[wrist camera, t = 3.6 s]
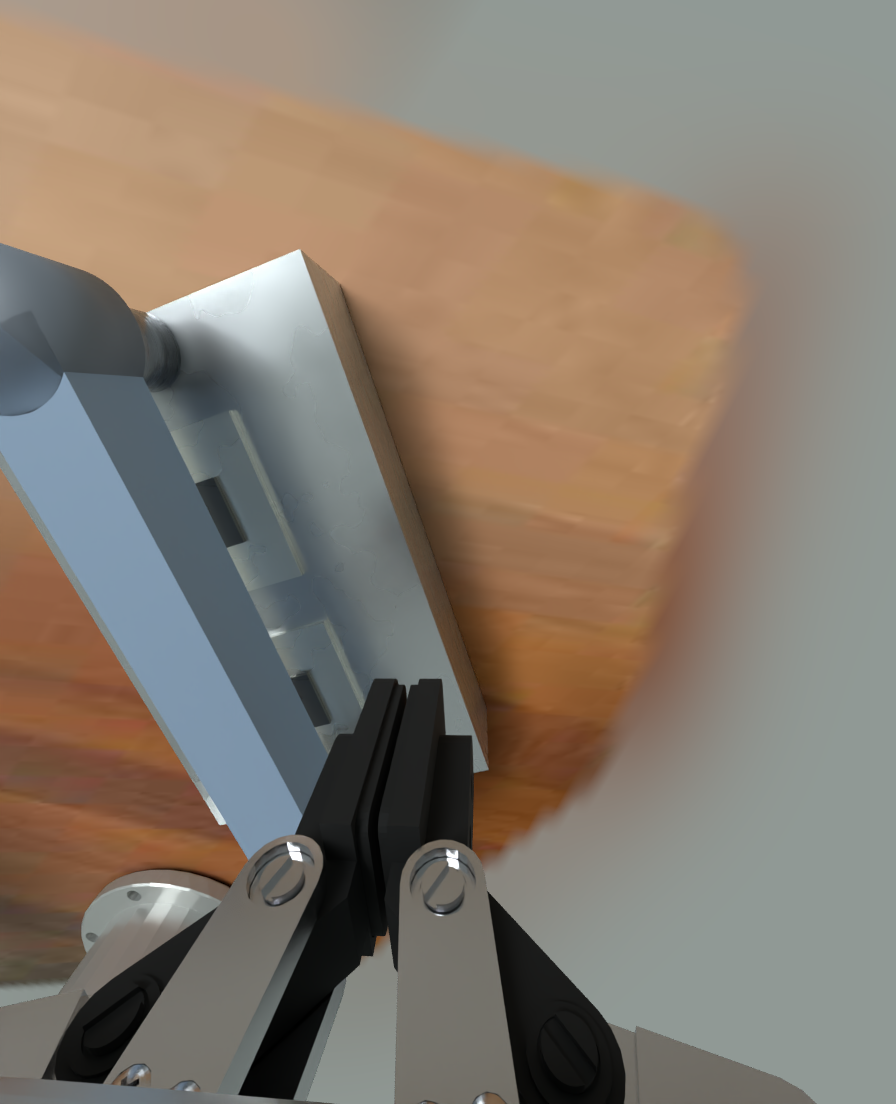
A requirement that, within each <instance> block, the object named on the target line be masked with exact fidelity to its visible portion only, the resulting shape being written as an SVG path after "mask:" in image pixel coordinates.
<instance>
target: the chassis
mask: <svg viewBox="0 0 896 1104" xmlns="http://www.w3.org/2000/svg"><path fill="white" fill-rule="evenodd" d="M129 309H130V310H131V312H132V313H133V315H134V317H135V319H136V321H137V323H138V326H139V328H140V331H141V334H142V338H143V342H144V348H145V370H144V375H143V378H144V380H145V382H146V384H147V386H148V388H149V391H150V393H151V395H152V397H153V399H154V401H155V403H156V405H157V407H158V409H159V411H160V413H161V415H162V417H163V419H164V421H165V423H166V425H167V427H168V429H169V431H170V433H171V435H172V437H173V440H174V442H175V444H176V446H177V448H178V450H179V452H180V454H181V456H182V458H183V460H184V462H185V464H186V466H187V468H188V470H189V472H190V474H191V476H192V478H193V480H194V482H195V484H196V486H197V489H198V491H199V493H200V495H201V497H202V499H203V501H204V503H205V505H206V507H207V509H208V511H209V513H210V515H211V517H212V519H213V521H214V523H215V525H216V527H217V529H218V531H219V533H220V535H221V538H222V540H223V542H224V544H225V546H226V548H227V550H228V552H229V554H230V556H231V558H232V560H233V562H234V564H235V566H236V568H237V570H238V572H239V574H240V576H241V578H242V580H243V582H244V584H245V587H246V589H247V591H248V593H249V595H250V597H251V599H252V601H253V603H254V605H255V607H256V609H257V611H258V613H259V615H260V617H261V619H262V621H263V623H264V625H265V627H266V629H267V631H268V633H269V636H270V638H271V640H272V642H273V644H274V646H275V648H276V650H277V652H278V654H279V656H280V658H281V660H282V662H283V664H284V666H285V668H286V670H287V672H288V674H289V676H290V678H291V680H292V682H293V685H294V687H295V689H296V691H297V693H298V695H299V697H300V699H301V701H302V703H303V705H304V707H305V709H306V711H307V713H308V715H309V717H310V719H311V721H312V723H313V725H314V727H315V729H316V731H317V734H318V736H319V738H320V740H321V742H322V744H323V746H324V748H325V750H326V752H327V754H328V755H329V752H330V750H331V748H332V745H333V743H334V741H335V739H336V737H337V736H338V735H339V734H353V733H354V730H355V727H356V725H357V722H358V719H359V717H360V714H361V712H362V709H363V706H364V704H365V701H366V698H367V696H368V693H369V690H370V688H371V685H372V682H373V680H374V679H375V678H394V679H397V680H398V684H399V685H405V686H406V693H407V698H408V694H409V690H410V686H411V685H418V682H419V679H442V683H443V698H444V713H445V729H446V735H472V742H473V771H474V773H475V772H480V771H485V770H489V766H488V737H487V708H486V706H485V703H484V700H483V697H482V694H481V691H480V688H479V685H478V683H477V680H476V677H475V674H474V671H473V668H472V665H471V662H470V659H469V657H468V654H467V651H466V648H465V645H464V642H463V639H462V636H461V634H460V631H459V628H458V625H457V622H456V619H455V616H454V613H453V610H452V608H451V605H450V602H449V599H448V596H447V593H446V590H445V587H444V585H443V582H442V579H441V576H440V573H439V570H438V567H437V564H436V561H435V559H434V556H433V553H432V550H431V547H430V544H429V541H428V538H427V536H426V533H425V530H424V527H423V524H422V521H421V518H420V515H419V512H418V510H417V507H416V504H415V501H414V498H413V495H412V492H411V489H410V487H409V484H408V481H407V478H406V475H405V472H404V469H403V466H402V463H401V461H400V458H399V455H398V452H397V449H396V446H395V443H394V440H393V438H392V435H391V432H390V429H389V426H388V423H387V420H386V417H385V414H384V412H383V409H382V406H381V403H380V400H379V397H378V394H377V391H376V388H375V386H374V383H373V380H372V377H371V374H370V371H369V368H368V365H367V363H366V360H365V357H364V354H363V351H362V348H361V345H360V342H359V339H358V337H357V334H356V331H355V328H354V325H353V322H352V319H351V316H350V314H349V311H348V308H347V305H346V302H345V299H344V296H343V293H342V290H341V288H340V285H339V282H337V281H336V280H335V279H334V278H333V277H332V276H331V275H329V274H328V273H327V272H326V271H325V270H324V269H322V268H321V267H320V266H319V265H318V264H317V263H315V262H314V261H313V260H312V259H311V258H310V257H308V256H307V255H306V254H305V253H304V252H303V251H301V250H300V249H299V250H297V251H294V252H292V253H289V254H287V255H284V256H282V257H280V258H277V259H275V260H272V261H270V262H268V263H265V264H263V265H260V266H258V267H255V268H253V269H251V270H248V271H246V272H243V273H241V274H239V275H236V276H234V277H231V278H229V279H226V280H224V281H222V282H219V283H217V284H214V285H212V286H209V287H207V288H205V289H202V290H200V291H197V292H195V293H193V294H190V295H188V296H185V297H183V298H180V299H178V300H176V301H173V302H171V303H168V304H166V305H164V306H161V307H159V308H156V309H154V310H151V311H149V312H147V313H146V312H142V311H138V310H135V309H131V308H129ZM0 468H1V469H2V471H3V473H4V474H5V476H6V478H7V479H8V481H9V482H10V484H11V486H12V487H13V489H14V491H15V492H16V494H17V495H18V497H19V499H20V500H21V502H22V504H23V505H24V507H25V509H26V510H27V512H28V513H29V515H30V517H31V518H32V520H33V522H34V523H35V525H36V526H37V528H38V530H39V531H40V533H41V535H42V536H43V538H44V539H45V541H46V543H47V544H48V546H49V548H50V549H51V551H52V553H53V554H54V556H55V557H56V559H57V561H58V562H59V564H60V566H61V567H62V569H63V570H64V572H65V574H66V575H67V577H68V579H69V580H70V582H71V583H72V585H73V587H74V588H75V590H76V592H77V593H78V595H79V597H80V598H81V600H82V601H83V603H84V605H85V606H86V608H87V610H88V611H89V613H90V614H91V616H92V618H93V619H94V621H95V623H96V624H97V626H98V627H99V629H100V631H101V632H102V634H103V636H104V637H105V639H106V641H107V642H108V644H109V645H110V647H111V649H112V650H113V652H114V654H115V655H116V657H117V658H118V660H119V662H120V663H121V665H122V667H123V668H124V670H125V671H126V673H127V675H128V676H129V678H130V680H131V681H132V683H133V685H134V686H135V688H136V689H137V691H138V693H139V694H140V696H141V698H142V699H143V701H144V702H145V704H146V706H147V707H148V709H149V711H150V712H151V714H152V715H153V717H154V719H155V720H156V722H157V724H158V725H159V727H160V729H161V730H162V732H163V733H164V735H165V737H166V738H167V740H168V742H169V743H170V745H171V746H172V748H173V750H174V751H175V753H176V755H177V756H178V758H179V759H180V761H181V763H182V764H183V766H184V768H185V769H186V771H187V773H188V774H189V776H190V777H191V779H192V781H193V782H194V784H195V786H196V787H197V789H198V790H199V792H200V794H201V795H202V797H203V799H204V800H205V802H206V803H207V805H208V807H209V808H210V810H211V812H212V813H213V815H214V817H215V818H216V820H217V821H218V823H219V825H224V824H226V822H225V820H224V819H223V817H222V815H221V814H220V812H219V810H218V809H217V807H216V805H215V804H214V802H213V800H212V799H211V797H210V796H209V794H208V792H207V791H206V789H205V787H204V786H203V784H202V782H201V781H200V779H199V777H198V776H197V774H196V772H195V771H194V769H193V768H192V766H191V764H190V763H189V761H188V759H187V758H186V756H185V754H184V753H183V751H182V749H181V748H180V746H179V744H178V743H177V741H176V740H175V738H174V736H173V735H172V733H171V731H170V730H169V728H168V726H167V725H166V723H165V721H164V720H163V718H162V716H161V715H160V713H159V712H158V710H157V708H156V707H155V705H154V703H153V702H152V700H151V698H150V697H149V695H148V693H147V692H146V690H145V688H144V687H143V685H142V684H141V682H140V680H139V679H138V677H137V675H136V674H135V672H134V670H133V669H132V667H131V665H130V664H129V662H128V660H127V659H126V657H125V656H124V654H123V652H122V651H121V649H120V647H119V646H118V644H117V642H116V641H115V639H114V637H113V636H112V634H111V632H110V631H109V629H108V627H107V626H106V624H105V623H104V621H103V619H102V618H101V616H100V614H99V613H98V611H97V609H96V608H95V606H94V604H93V603H92V601H91V599H90V598H89V596H88V595H87V593H86V591H85V590H84V588H83V586H82V585H81V583H80V581H79V580H78V578H77V576H76V575H75V573H74V571H73V570H72V568H71V567H70V565H69V563H68V562H67V560H66V558H65V557H64V555H63V553H62V552H61V550H60V548H59V547H58V545H57V543H56V542H55V540H54V539H53V537H52V535H51V534H50V532H49V530H48V529H47V527H46V525H45V524H44V522H43V520H42V519H41V517H40V515H39V514H38V512H37V511H36V509H35V507H34V506H33V504H32V502H31V501H30V499H29V497H28V496H27V494H26V492H25V491H24V489H23V487H22V486H21V484H20V483H19V481H18V479H17V478H16V476H15V474H14V473H13V471H12V469H11V468H10V466H9V464H8V463H7V461H6V459H5V458H4V456H3V455H2V453H1V451H0Z"/></svg>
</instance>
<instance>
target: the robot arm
mask: <svg viewBox="0 0 896 1104" xmlns="http://www.w3.org/2000/svg"><path fill="white" fill-rule="evenodd" d="M473 797H474V771H473V742H472V735H446V729H445V713H444V698H443V683H442V679H419V682H418V685H411V686H410V690H409V694H408V698H407V693H406V686H405V685H399V684H398V680H397V679H394V678H375V679H374V680H373V682H372V685H371V688H370V690H369V693H368V696H367V698H366V701H365V704H364V706H363V709H362V712H361V714H360V717H359V719H358V722H357V725H356V727H355V730H354V733H353V734H339V735H338V736H337V737H336V739H335V741H334V743H333V745H332V748H331V750H330V752H329V755H328V757H327V759H326V762H325V764H324V767H323V769H322V771H321V774H320V776H319V778H318V781H317V783H316V785H315V788H314V790H313V793H312V795H311V797H310V800H309V802H308V804H307V807H306V809H305V811H304V814H303V816H302V819H301V821H300V823H299V826H298V828H297V830H296V833H295V835H287V836H283V837H279V838H277V839H275V840H273V841H271V842H269V843H267V844H265V845H264V846H263V847H262V848H260V849H259V850H258V851H257V852H256V853H254V855H253V856H252V857H251V858H250V859H249V861H248V862H247V863H246V864H245V866H244V867H243V869H242V870H241V872H240V873H239V875H238V876H237V878H236V880H235V881H234V883H233V884H232V886H231V887H228V886H226V885H224V884H222V883H219V882H217V881H215V880H212V879H210V878H207V877H204V876H200V875H197V874H193V873H189V872H183V871H176V870H147V871H140V872H134V873H131V874H128V875H125V876H122V877H120V878H118V879H116V880H114V881H113V882H111V883H110V884H108V885H107V886H106V887H105V888H104V889H103V890H102V891H101V892H100V893H99V894H98V895H97V897H96V898H95V899H94V901H93V902H92V904H91V905H90V906H89V908H88V909H87V911H86V912H85V915H84V918H83V921H82V927H81V934H82V940H83V944H84V947H85V950H86V952H87V954H86V955H85V957H84V958H83V960H82V961H81V962H80V964H79V965H78V967H77V968H76V970H75V971H74V972H73V974H72V975H71V977H70V978H69V980H68V981H67V982H66V984H65V985H64V987H63V988H62V990H61V991H60V992H59V994H58V995H54V996H49V997H44V998H40V999H36V1000H31V1001H27V1002H22V1003H17V1004H12V1005H8V1006H4V1007H0V1104H331V1103H320V1102H308V1101H306V1099H307V1096H308V1094H309V1091H310V1088H311V1085H312V1082H313V1079H314V1076H315V1074H316V1071H317V1068H318V1065H319V1062H320V1059H321V1056H322V1053H323V1050H324V1048H325V1045H326V1042H327V1039H328V1037H329V1034H330V1031H331V1028H332V1025H333V1022H334V1019H335V1016H336V1014H337V1011H338V1008H339V1005H340V1002H341V999H342V996H343V993H344V988H345V984H346V977H347V976H348V975H349V974H350V973H351V972H353V971H354V970H355V969H356V968H357V967H358V966H359V965H360V961H361V956H373V953H374V947H375V942H376V937H377V936H385V935H386V932H387V927H388V928H389V935H390V942H391V949H392V955H393V963H394V968H395V969H396V971H397V972H398V983H397V985H398V986H397V1024H396V1066H395V1104H816V1103H815V1102H814V1101H813V1100H812V1099H811V1098H810V1097H809V1096H808V1095H807V1094H806V1093H805V1092H804V1091H802V1090H801V1089H799V1088H797V1087H796V1086H794V1085H792V1084H790V1083H788V1082H787V1081H785V1080H783V1079H781V1078H779V1077H777V1076H774V1075H771V1074H768V1073H766V1072H762V1071H760V1070H757V1069H754V1068H752V1067H749V1066H746V1065H743V1064H740V1063H738V1062H735V1061H732V1060H729V1059H726V1058H724V1057H721V1056H718V1055H715V1054H712V1053H710V1052H707V1051H704V1050H701V1049H698V1048H696V1047H693V1046H690V1045H688V1044H684V1043H682V1042H679V1041H676V1040H674V1039H671V1038H668V1037H665V1036H663V1035H660V1034H657V1033H654V1032H651V1031H648V1030H646V1029H643V1028H640V1027H637V1026H636V1030H635V1033H634V1032H631V1031H629V1030H626V1029H623V1028H620V1027H618V1026H615V1025H612V1024H610V1023H607V1022H606V1020H605V1019H604V1018H603V1016H602V1015H601V1014H600V1012H599V1011H598V1010H597V1009H596V1008H595V1006H594V1005H593V1004H592V1003H591V1002H590V1001H589V1000H588V999H587V998H586V997H585V996H584V995H583V994H582V992H581V991H580V990H579V989H578V988H576V986H575V985H574V984H573V983H572V982H571V981H570V980H569V978H568V977H567V976H566V975H565V974H564V973H563V972H562V971H561V970H560V969H559V968H558V967H557V966H556V965H555V963H554V962H553V961H552V960H551V959H550V958H549V957H548V956H547V955H546V954H545V953H544V952H543V950H542V949H541V948H540V947H539V946H538V945H537V944H536V943H535V942H534V941H533V940H532V939H531V938H530V936H529V935H528V934H527V933H526V932H525V931H524V930H523V929H522V928H521V927H520V926H519V925H518V923H516V921H515V920H514V919H513V918H512V917H511V916H510V915H509V914H508V913H507V912H506V911H505V910H504V908H503V907H502V906H501V905H500V904H499V903H498V902H497V901H496V900H495V899H494V898H493V897H492V896H491V894H489V892H488V891H487V887H486V880H485V874H484V870H483V867H482V864H481V862H480V860H479V859H478V857H477V856H476V854H475V853H474V852H473V851H472V838H473Z"/></svg>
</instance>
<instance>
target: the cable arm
mask: <svg viewBox="0 0 896 1104" xmlns="http://www.w3.org/2000/svg"><path fill="white" fill-rule="evenodd" d="M144 370H145V348H144V342H143V338H142V334H141V331H140V328H139V326H138V323H137V321H136V319H135V317H134V315H133V313H132V312H131V310H130V309H129V307H128V306H127V304H126V303H125V301H124V300H123V299H122V298H121V297H120V295H119V294H118V293H117V292H116V291H115V290H114V289H113V288H112V287H110V286H109V285H108V284H107V283H105V282H104V281H103V280H101V279H99V278H98V277H96V276H94V275H92V274H90V273H88V272H86V271H83V270H80V269H77V268H74V267H71V266H68V265H65V264H62V263H59V262H56V261H53V260H50V259H47V258H44V257H41V256H38V255H35V254H32V253H29V252H26V251H23V250H20V249H17V248H14V247H11V246H8V245H4V244H1V243H0V451H1V453H2V455H3V456H4V458H5V459H6V461H7V463H8V464H9V466H10V468H11V469H12V471H13V473H14V474H15V476H16V478H17V479H18V481H19V483H20V484H21V486H22V487H23V489H24V491H25V492H26V494H27V496H28V497H29V499H30V501H31V502H32V504H33V506H34V507H35V509H36V511H37V512H38V514H39V515H40V517H41V519H42V520H43V522H44V524H45V525H46V527H47V529H48V530H49V532H50V534H51V535H52V537H53V539H54V540H55V542H56V543H57V545H58V547H59V548H60V550H61V552H62V553H63V555H64V557H65V558H66V560H67V562H68V563H69V565H70V567H71V568H72V570H73V571H74V573H75V575H76V576H77V578H78V580H79V581H80V583H81V585H82V586H83V588H84V590H85V591H86V593H87V595H88V596H89V598H90V599H91V601H92V603H93V604H94V606H95V608H96V609H97V611H98V613H99V614H100V616H101V618H102V619H103V621H104V623H105V624H106V626H107V627H108V629H109V631H110V632H111V634H112V636H113V637H114V639H115V641H116V642H117V644H118V646H119V647H120V649H121V651H122V652H123V654H124V656H125V657H126V659H127V660H128V662H129V664H130V665H131V667H132V669H133V670H134V672H135V674H136V675H137V677H138V679H139V680H140V682H141V684H142V685H143V687H144V688H145V690H146V692H147V693H148V695H149V697H150V698H151V700H152V702H153V703H154V705H155V707H156V708H157V710H158V712H159V713H160V715H161V716H162V718H163V720H164V721H165V723H166V725H167V726H168V728H169V730H170V731H171V733H172V735H173V736H174V738H175V740H176V741H177V743H178V744H179V746H180V748H181V749H182V751H183V753H184V754H185V756H186V758H187V759H188V761H189V763H190V764H191V766H192V768H193V769H194V771H195V772H196V774H197V776H198V777H199V779H200V781H201V782H202V784H203V786H204V787H205V789H206V791H207V792H208V794H209V796H210V797H211V799H212V800H213V802H214V804H215V805H216V807H217V809H218V810H219V812H220V814H221V815H222V817H223V819H224V820H225V822H226V824H227V825H228V827H229V828H230V830H231V832H232V833H233V835H234V837H235V838H236V840H237V842H238V843H239V845H240V847H241V848H242V850H243V852H244V853H245V855H246V857H247V858H248V860H249V859H250V858H251V857H252V856H253V855H254V853H256V852H257V851H258V850H259V849H260V848H262V847H263V846H264V845H265V844H267V843H269V842H271V841H273V840H275V839H277V838H279V837H283V836H287V835H295V833H296V830H297V828H298V826H299V823H300V821H301V819H302V816H303V814H304V811H305V809H306V807H307V804H308V802H309V800H310V797H311V795H312V793H313V790H314V788H315V785H316V783H317V781H318V778H319V776H320V774H321V771H322V769H323V767H324V764H325V762H326V759H327V757H328V754H327V752H326V750H325V748H324V746H323V744H322V742H321V740H320V738H319V736H318V734H317V731H316V729H315V727H314V725H313V723H312V721H311V719H310V717H309V715H308V713H307V711H306V709H305V707H304V705H303V703H302V701H301V699H300V697H299V695H298V693H297V691H296V689H295V687H294V685H293V682H292V680H291V678H290V676H289V674H288V672H287V670H286V668H285V666H284V664H283V662H282V660H281V658H280V656H279V654H278V652H277V650H276V648H275V646H274V644H273V642H272V640H271V638H270V636H269V633H268V631H267V629H266V627H265V625H264V623H263V621H262V619H261V617H260V615H259V613H258V611H257V609H256V607H255V605H254V603H253V601H252V599H251V597H250V595H249V593H248V591H247V589H246V587H245V584H244V582H243V580H242V578H241V576H240V574H239V572H238V570H237V568H236V566H235V564H234V562H233V560H232V558H231V556H230V554H229V552H228V550H227V548H226V546H225V544H224V542H223V540H222V538H221V535H220V533H219V531H218V529H217V527H216V525H215V523H214V521H213V519H212V517H211V515H210V513H209V511H208V509H207V507H206V505H205V503H204V501H203V499H202V497H201V495H200V493H199V491H198V489H197V486H196V484H195V482H194V480H193V478H192V476H191V474H190V472H189V470H188V468H187V466H186V464H185V462H184V460H183V458H182V456H181V454H180V452H179V450H178V448H177V446H176V444H175V442H174V440H173V437H172V435H171V433H170V431H169V429H168V427H167V425H166V423H165V421H164V419H163V417H162V415H161V413H160V411H159V409H158V407H157V405H156V403H155V401H154V399H153V397H152V395H151V393H150V391H149V388H148V386H147V384H146V382H145V380H144V378H143V375H144Z"/></svg>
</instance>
